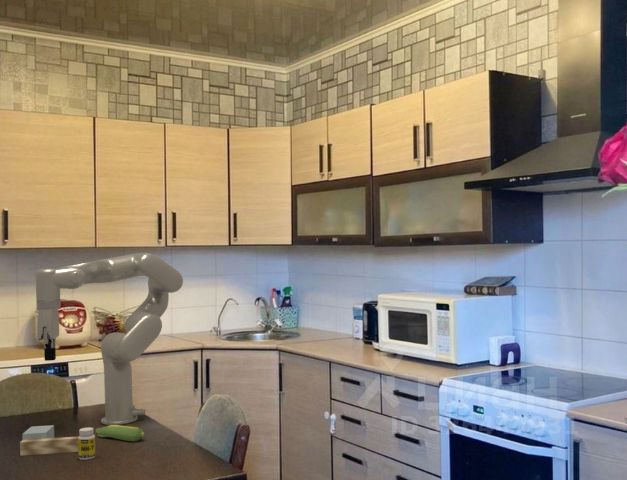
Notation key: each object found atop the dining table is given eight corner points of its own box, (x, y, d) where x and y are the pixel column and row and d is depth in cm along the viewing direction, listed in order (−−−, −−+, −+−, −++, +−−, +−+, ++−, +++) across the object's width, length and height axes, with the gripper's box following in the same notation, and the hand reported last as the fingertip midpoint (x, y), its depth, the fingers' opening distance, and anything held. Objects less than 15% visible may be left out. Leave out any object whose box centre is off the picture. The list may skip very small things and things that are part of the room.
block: (54, 444, 218) (54, 425, 218) (46, 452, 209) (46, 432, 209) (31, 445, 217) (31, 426, 217) (22, 453, 208) (22, 434, 208)
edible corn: (137, 444, 214) (136, 430, 214) (91, 438, 223) (90, 424, 223) (148, 440, 218) (148, 426, 218) (103, 434, 228) (102, 420, 228)
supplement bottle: (79, 461, 198) (78, 432, 198) (77, 457, 202) (76, 428, 202) (96, 458, 200) (96, 429, 200) (94, 454, 204) (93, 426, 204)
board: (90, 448, 210) (90, 435, 210) (88, 451, 208) (88, 438, 208) (23, 453, 208) (22, 440, 208) (20, 455, 205) (20, 442, 205)
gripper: (43, 304, 235) (44, 357, 235) (30, 307, 221) (31, 364, 220) (65, 303, 236) (67, 356, 236) (54, 306, 221) (55, 363, 221)
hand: (50, 360), depth 228 cm, fingers closed
